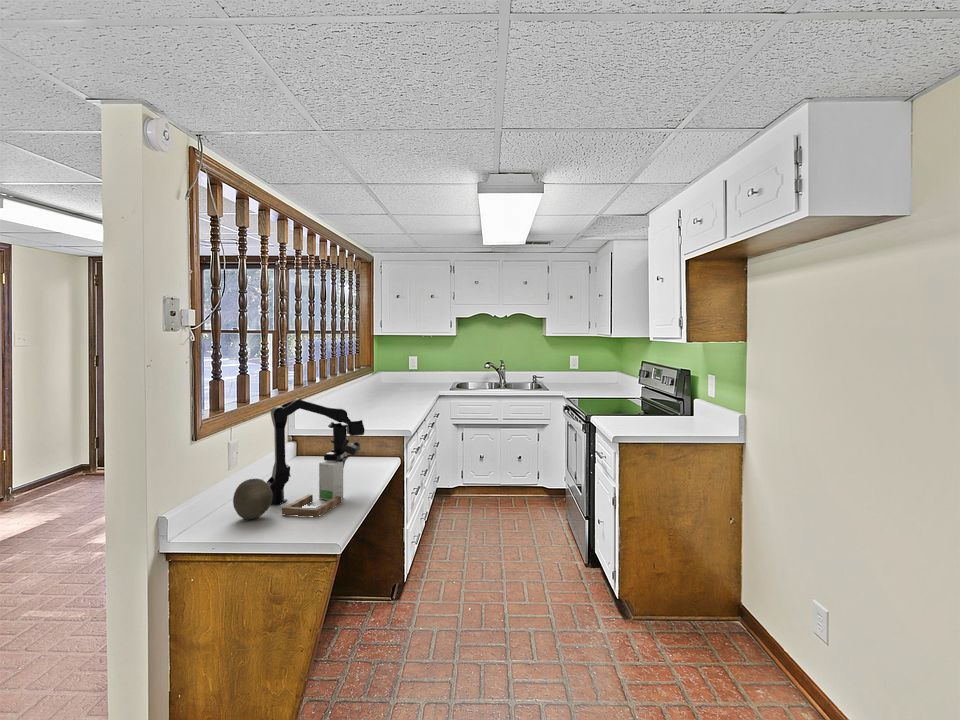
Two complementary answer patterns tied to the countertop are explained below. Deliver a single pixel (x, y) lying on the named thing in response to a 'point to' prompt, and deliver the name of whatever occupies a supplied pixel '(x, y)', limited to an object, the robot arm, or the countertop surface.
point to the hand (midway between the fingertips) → (340, 473)
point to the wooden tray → (297, 509)
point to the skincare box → (330, 479)
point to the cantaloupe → (252, 498)
